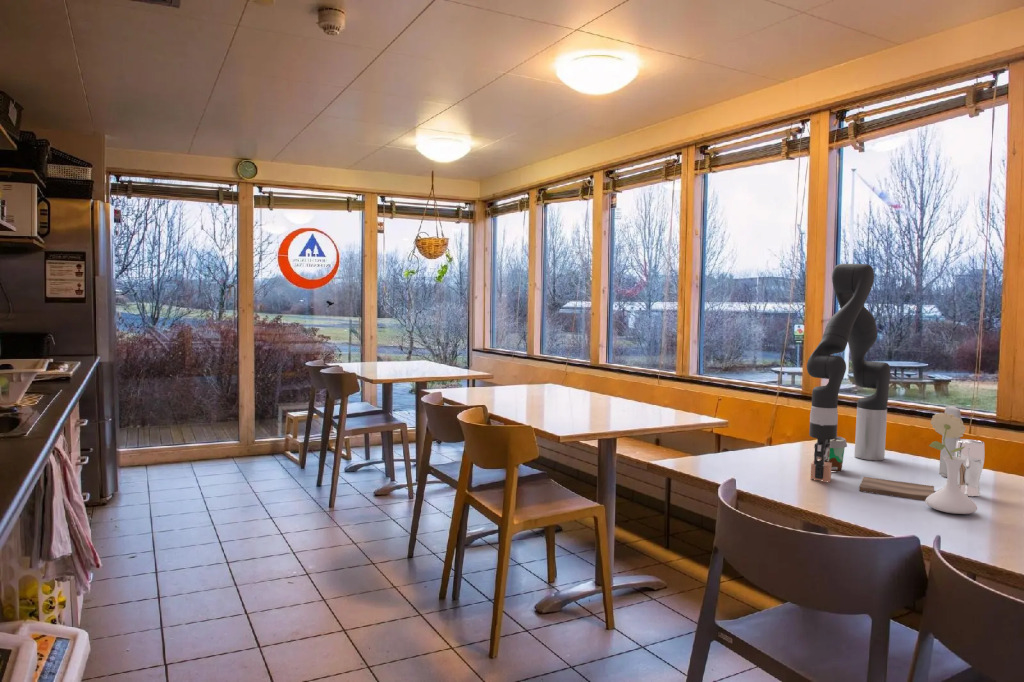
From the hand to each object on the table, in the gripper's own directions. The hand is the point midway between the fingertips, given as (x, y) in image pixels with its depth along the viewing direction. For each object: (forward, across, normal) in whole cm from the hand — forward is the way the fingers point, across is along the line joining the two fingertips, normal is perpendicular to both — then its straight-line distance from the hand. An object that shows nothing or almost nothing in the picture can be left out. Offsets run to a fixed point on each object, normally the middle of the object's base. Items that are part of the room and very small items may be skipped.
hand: (820, 475), depth 209 cm
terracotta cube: (+1, 0, 0) cm, 1 cm away
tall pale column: (+1, -28, +33) cm, 43 cm away
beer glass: (+1, -7, +37) cm, 38 cm away
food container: (+1, -17, +2) cm, 17 cm away
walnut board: (+1, +1, +20) cm, 20 cm away
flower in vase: (+1, +15, +32) cm, 35 cm away
